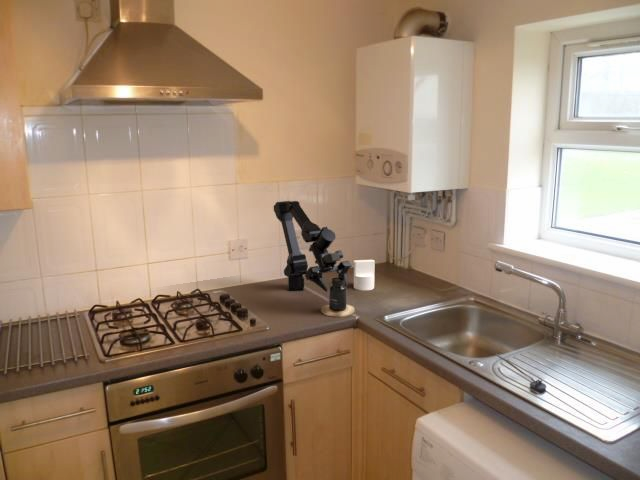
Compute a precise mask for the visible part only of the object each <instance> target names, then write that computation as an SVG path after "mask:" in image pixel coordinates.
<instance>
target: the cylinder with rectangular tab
mask: <svg viewBox="0 0 640 480" xmlns="http://www.w3.org/2000/svg"><path fill="white" fill-rule="evenodd" d="M375 264H376V261H375V260H374V259H359V260H358V259H356V260H355V259H354V260H353V289H354V290H357V291H371V290H373V289H375Z"/></svg>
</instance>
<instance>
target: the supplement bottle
mask: <svg viewBox="0 0 640 480" xmlns="http://www.w3.org/2000/svg"><path fill="white" fill-rule="evenodd" d="M331 279H332V280H331V285H329V289H328V304H329V309H330V310H332V311H344V310H345V309H346V306H347V305H348V302H347V301H348V297H347V296H348V286H347V287H346V286H345V285H344V284H345V279H344V278H340V277H338V276H337V277H333V278H331Z"/></svg>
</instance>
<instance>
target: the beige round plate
mask: <svg viewBox="0 0 640 480" xmlns="http://www.w3.org/2000/svg"><path fill="white" fill-rule="evenodd" d="M355 311H356V309H355V307H354V306H353V305H350V304H347V306H346V309H345V310H344V311H332V310H330V309H329V303H328V304H326V305H323V306H322V307H321V308H320V312H321V314H322V313H323V314H322V315H324V316H327V317H331V318H346V317H350V316H352V315H354V314H355Z"/></svg>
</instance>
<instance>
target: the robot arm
mask: <svg viewBox="0 0 640 480" xmlns="http://www.w3.org/2000/svg"><path fill="white" fill-rule="evenodd" d="M273 212H274V215H275V217H276V218H277V219H278V221H279V222H280V223H281V227H282V232H283V235H284V239H285V244H286V247H287V252H288V253H287V254H288V255H287V258H286V266H285V267H284V269H283V275H284V276H285V277H287V289H288V291H289V292H292V291H293V292H296V291H304V288H305V280H306V281H310V282H312V283H314V284H315V285H317V286H318V287H320V288H321V289H322V290H323V291H325V292H326V293H327V292H329V289H328V287H327V285H326V283H325V280H324V278H323V274H327V273H332V272H333V273H334V272H336V273H337V277H340V278H344V279H345V284H344V285H345V286H346V287H347V288H348V286H349V285H348V271H349V270H350V269H351V267H352V263H351V261H349V260H345V261H341V259H343V258H344V254H343V251H342V249H338V250H336V251H335V252H329V251H328V249H329V248H330V247H331V245H332V244H333V242H334V241H335V240H336V237H337V236H336V233H335V232H334V231H333V230H331V229H329V228H328V226H323V227H319V225H317V224H316V223H314V222H312V221H311V219H310V218H309V216H308V214H306V212H305V211H304V209H303V207H301V203H300V201H298V200H284V201H276V202H275V204H274V205H273ZM293 219H294V220H295V222H296V223H297V225H298V226H299V227H300V229H301V232H300V235H301V238H302V239H303V241H304V242H305V243H311V244H310V245H309V248H308V251H309V252H310V253H311V252H312V255H313V257H314V259H315V261H314V264H315V266H310V267H309V268H308V266H309V264H308V261H307V256H306V254H305V253H302V252H301V250H300V247H299V242H298V239H297V233H296V229H295V226H294V222H293V221H294V220H293ZM337 262H339V264H337ZM336 264H337V265H336ZM304 276H305V277H304Z"/></svg>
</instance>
